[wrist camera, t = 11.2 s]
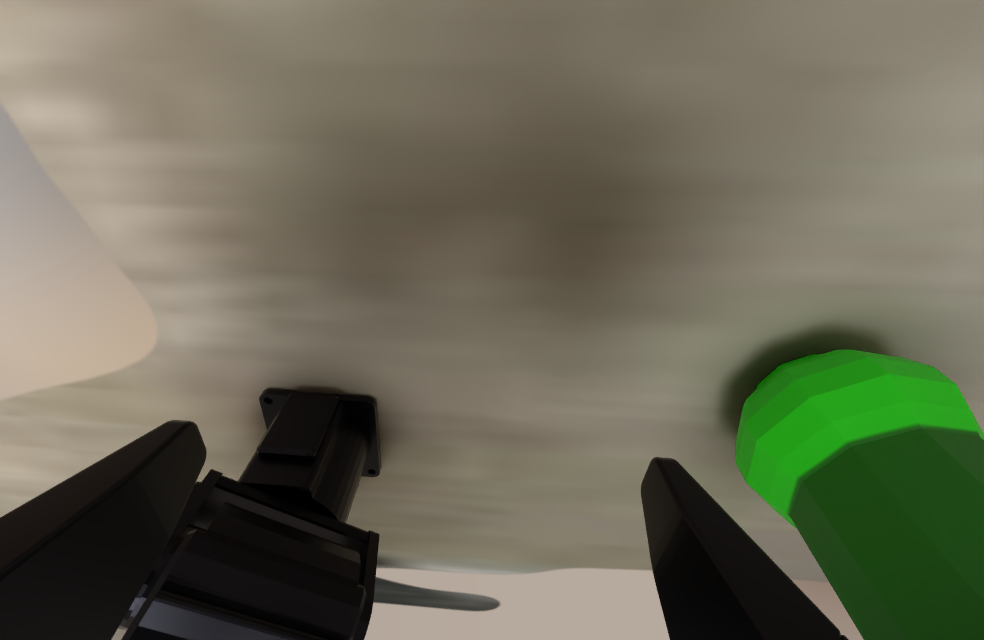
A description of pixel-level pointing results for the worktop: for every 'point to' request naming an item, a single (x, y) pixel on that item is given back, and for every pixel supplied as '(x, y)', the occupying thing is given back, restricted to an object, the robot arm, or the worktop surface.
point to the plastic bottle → (876, 487)
